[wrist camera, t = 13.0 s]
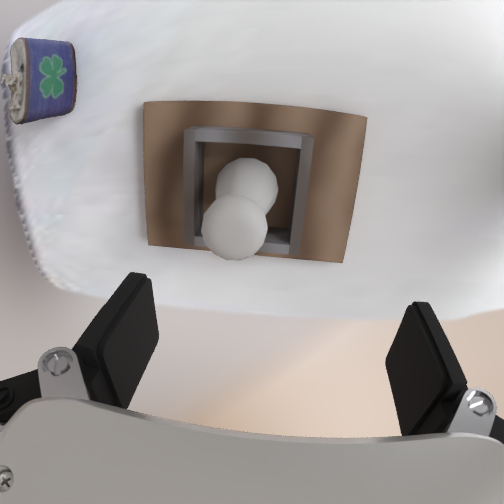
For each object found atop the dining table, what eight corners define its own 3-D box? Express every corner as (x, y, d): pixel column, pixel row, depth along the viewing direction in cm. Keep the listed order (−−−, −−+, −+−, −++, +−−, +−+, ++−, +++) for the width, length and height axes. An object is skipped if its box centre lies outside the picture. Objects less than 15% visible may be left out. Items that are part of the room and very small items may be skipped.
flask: (59, 44, 26) (-3, 41, 17) (78, 38, 26) (17, 31, 16) (59, 115, 30) (-2, 131, 21) (78, 112, 30) (17, 125, 21)
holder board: (363, 116, 29) (379, 120, 24) (340, 256, 36) (349, 282, 31) (149, 101, 30) (126, 103, 25) (152, 239, 37) (135, 261, 32)
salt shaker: (208, 176, 31) (167, 225, 20) (253, 141, 30) (237, 170, 18) (244, 219, 33) (226, 289, 22) (289, 188, 31) (296, 245, 20)
